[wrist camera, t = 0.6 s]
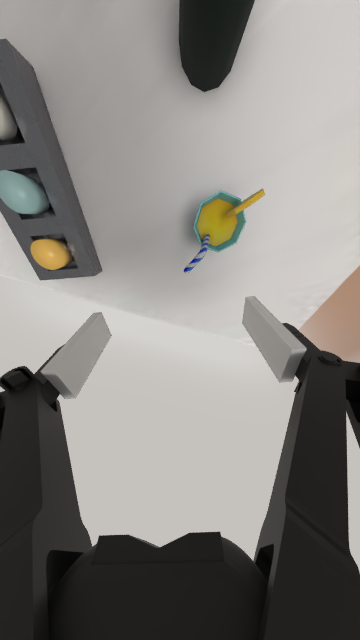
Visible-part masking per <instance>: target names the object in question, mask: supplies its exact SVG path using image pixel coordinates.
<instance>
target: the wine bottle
mask: <svg viewBox="0 0 360 640" xmlns="http://www.w3.org/2000/svg"><path fill="white" fill-rule="evenodd" d="M254 1H255V0H180V6H179V45H180V53H181V62H182V67H183V69H184V71H185V73H186V75H187V77H188V79H189V81H190V83H191V85H193V86H195V87H197V88H198V89H200V90H202V91H204V92H205V91H208V90H211V89H214V88H217V87H219V86H220V84H221V83H222V82H223V80H224V79H225V78H226V76H227V75H228V74H229V72H230V71H231V68H232V65H233V62H234V59H235V56H236V53H237V50H238V48H239V45H240V42H241V39H242V36H243V33H244V30H245V27H246V24H247V21H248V18H249V15H250V12H251V10H252V7H253V4H254Z"/></svg>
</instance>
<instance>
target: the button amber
mask: <svg viewBox="0 0 360 640" xmlns="http://www.w3.org/2000/svg"><path fill="white" fill-rule="evenodd" d="M30 249H31V254H32V256H33V258H34V259H35V261H36V262H37V263H38V264H39V265H41V266H42V267H44V268H46V269H49V270H56V269H59V268H61V267H64V266H66V265H68V264H70V263H71V261H72V252H71V250H70V248H69V247H68V245H67V244H66V243H64V242H63V241H62V240H60V239H57V238H48V239H41V240H36V241H34V242H33V243H32V244H31V248H30Z"/></svg>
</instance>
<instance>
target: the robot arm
mask: <svg viewBox="0 0 360 640" xmlns="http://www.w3.org/2000/svg"><path fill="white" fill-rule="evenodd" d="M242 323H243V325H244V327H245V328H246V330H247V331H248V333H249V335H250V336H251V338H252V339H253V341H254V343H255V344H256V346H257V347H258V349H259V351H260V352H261V353H262V355H263V357H264V358H265V360H266V361H267V363H268V365H269V366H270V368H271V370H272V371H273V373H274V374H275V376H276V378H277V379H278V381H279V382H291V381H293V379H294V377H295V375H296V377H297V378H298V379H299V383H298V385H297V387H296V389H295V391H294V392H296V394H295V398H294V403H293V406H292V411H291V415H290V419H289V423H288V427H287V432H286V436H285V440H284V445H283V449H282V453H281V457H280V461H279V465H278V470H277V474H276V479H275V482H274V486H273V491H272V495H271V499H270V503H269V508H268V511H267V515H266V518H265V520H264V523H263V526H262V529H261V532H260V536H259V540H258V545H257V548H256V552H255V557H254V561H252V559H251V558H250V557H249V556H248V555H247V554H246V553H245V552H244V551H243V550H242V549H241V548H239V547H238V546H237V545H236V544H234V543H232V542H231V541H230V540H228V539H226V538H223V537H221V534H220V532H205V533H204V532H202V533H188V534H186V535H185V536H182V537H180V538H178V539H176V540H174V541H172V542H170V543H168V544H166V545H164V546H162V547H158V546H156V545H153V544H151V543H149V542H147V541H144V540H141V539H139V538H136V537H133V536H130V535H109V536H108V535H107V536H99V538H98V542H97V544H96V545H94V546H93V547H92V544H91V540H90V537H89V534H88V531H87V529H86V528H85V526H84V525H83V523H82V520H81V517H80V512H79V506H78V501H77V496H76V490H75V484H74V480H73V474H72V468H71V463H70V457H69V452H68V447H67V441H66V436H65V430H64V425H63V420H62V414H61V409H60V403H59V401H58V400H57V397H58V396H59V394H61V395H62V396H63V397H64V399H71V398H76V397H77V395H78V394H79V392H80V390H81V388H82V386H83V385H84V383H85V381H86V380H87V377H88V376H89V374H90V373H91V371H92V369H93V367H94V366H95V364H96V362H97V360H98V359H99V357H100V355H101V353H102V352H103V350H104V348H105V346H106V345H107V343H108V341H109V339H110V338H111V336H112V335H111V333H110V331H109V328H108V326H107V324H106V322H105V319H104V317H103V315H102V313H101V312H99V313H93V314H92V315H91V316H90V317H89V319H88V320H87V321H86V322H85V323H84V324H83V325H82V326H81V328H79V330H78V331H77V332H76V333H75V334H74V335H73V336H72V337H71V338H70V339H69V340H68V342H67V343H66V344H64V345H63V346H62V347H60V348H59V349H57V350H56V351H55V353H54V354H53V356H51V357H50V358H49V360H47V361H46V362H45V363H44V364H43V365H42V366H41V368H40V369H39V370H38V371H37V372H36V373H35V374H33V373H32V372H31V371H30V370H29V369H28V368H27V367H25V366H21V367H17V368H15V369H12V370H11V371H9V372H7V373H6V374H4V375H3V376H2V377H1V378H0V386H1V387H2V388H3V389H4V390H5V391H4V392H0V640H360V573H359V570H358V567H357V564H356V563H355V561H354V559H353V557H352V556H351V553H350V549H349V539H348V538H349V537H348V493H347V492H348V488H347V437H346V412H347V414H348V417H349V419H350V423H351V425H352V428H353V431H354V433H355V436H356V439H357V442H358V444H359V447H360V363H355V362H348V361H343V360H342V359H341V358H340V357H338V356H336V355H335V354H332V353H329V352H326V351H320V350H319V349H318V348H317V347H316V346H315V345H314V344H313V343H312V342H310V341H309V340H308V339H307V338H306V337H304V335H303V334H302V333H300V332H299V331H298V330H297V329H296V328H295V327H294V326H292V325H290V324H288V323H281V322H280V321H279V320H278V319H277V318H276V317H275V316H274V315H273V314H272V313H271V312H270V311H269V310H268V309H267V308H266V307H265V306H264V305H263V304H262V303H261V302H260V301H259V300H258V299H257V298H256V297H255V296H253V297H246V298H245V306H244V313H243V321H242Z"/></svg>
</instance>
